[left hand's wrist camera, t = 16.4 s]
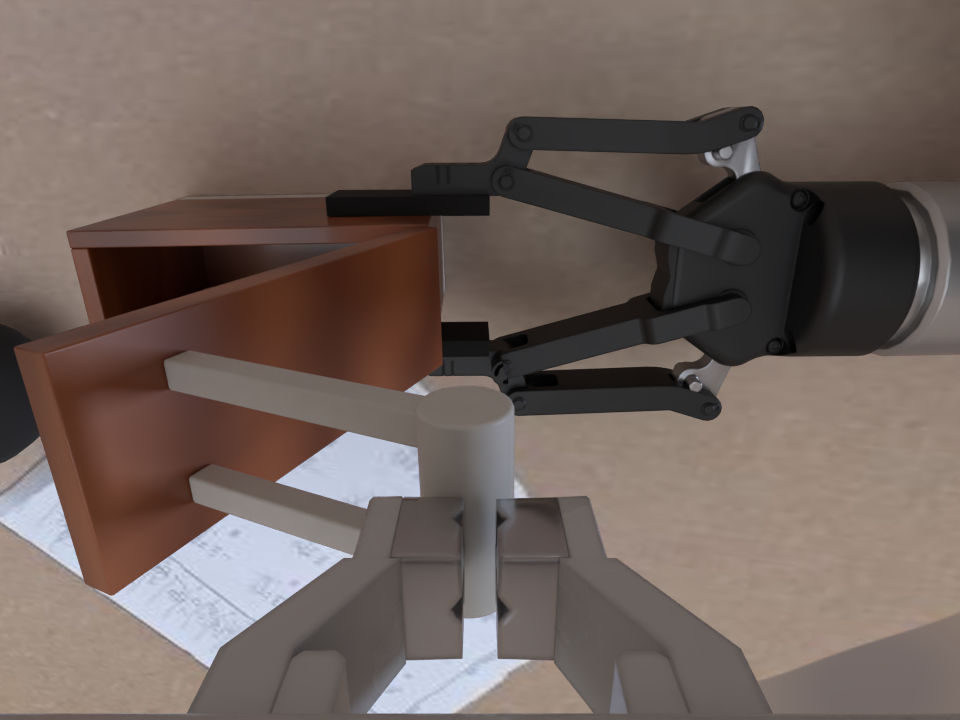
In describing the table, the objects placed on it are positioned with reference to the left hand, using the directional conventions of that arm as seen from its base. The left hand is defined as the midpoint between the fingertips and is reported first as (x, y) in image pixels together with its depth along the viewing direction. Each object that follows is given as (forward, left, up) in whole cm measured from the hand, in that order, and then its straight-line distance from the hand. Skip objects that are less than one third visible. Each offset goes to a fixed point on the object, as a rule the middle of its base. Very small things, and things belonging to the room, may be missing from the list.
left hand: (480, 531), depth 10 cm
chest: (-8, +1, -25) cm, 27 cm away
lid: (-5, 0, -8) cm, 10 cm away
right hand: (-6, 0, -18) cm, 19 cm away
